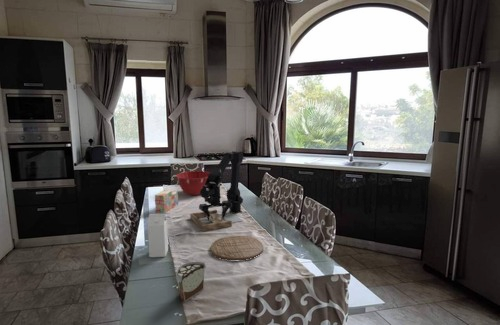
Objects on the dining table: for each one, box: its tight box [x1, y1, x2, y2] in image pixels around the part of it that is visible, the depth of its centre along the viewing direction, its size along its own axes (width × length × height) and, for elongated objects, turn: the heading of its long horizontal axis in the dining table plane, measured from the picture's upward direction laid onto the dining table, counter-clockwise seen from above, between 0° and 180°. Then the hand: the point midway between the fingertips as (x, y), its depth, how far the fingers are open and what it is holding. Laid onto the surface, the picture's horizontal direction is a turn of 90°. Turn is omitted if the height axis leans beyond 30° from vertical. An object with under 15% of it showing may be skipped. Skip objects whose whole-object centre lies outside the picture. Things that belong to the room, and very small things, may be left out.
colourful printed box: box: [154, 189, 179, 214], centre depth 211 cm, size 21×6×12 cm, turn 168°
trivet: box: [210, 235, 264, 261], centre depth 148 cm, size 25×25×2 cm
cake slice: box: [175, 261, 206, 303], centre depth 111 cm, size 12×6×10 cm, turn 145°
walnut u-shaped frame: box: [189, 209, 233, 232], centre depth 184 cm, size 17×24×3 cm
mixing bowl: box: [175, 170, 211, 196], centre depth 250 cm, size 28×28×15 cm
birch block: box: [209, 212, 222, 223], centre depth 186 cm, size 5×5×4 cm
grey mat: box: [220, 213, 244, 224], centre depth 191 cm, size 9×15×1 cm, turn 27°
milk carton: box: [147, 213, 169, 258], centre depth 141 cm, size 7×7×19 cm
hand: (215, 219), depth 186 cm, fingers open, 9 cm apart
